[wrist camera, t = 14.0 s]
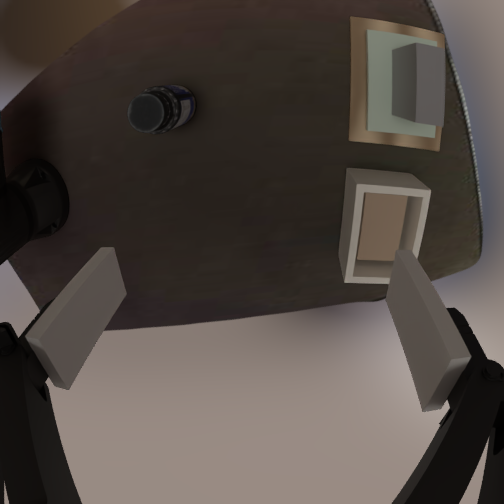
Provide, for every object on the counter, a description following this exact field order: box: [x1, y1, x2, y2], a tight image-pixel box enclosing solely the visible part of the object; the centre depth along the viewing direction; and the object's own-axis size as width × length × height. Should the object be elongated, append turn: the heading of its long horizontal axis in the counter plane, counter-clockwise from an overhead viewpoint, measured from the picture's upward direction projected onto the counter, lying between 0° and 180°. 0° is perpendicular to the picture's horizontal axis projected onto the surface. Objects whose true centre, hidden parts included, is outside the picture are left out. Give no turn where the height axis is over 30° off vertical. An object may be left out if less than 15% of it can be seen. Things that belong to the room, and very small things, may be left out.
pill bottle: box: [127, 85, 196, 134], centre depth 37 cm, size 6×6×11 cm
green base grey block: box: [366, 29, 445, 138], centre depth 31 cm, size 10×14×11 cm
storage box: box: [338, 168, 431, 284], centre depth 43 cm, size 10×14×8 cm
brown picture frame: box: [348, 16, 445, 151], centre depth 37 cm, size 14×18×1 cm
